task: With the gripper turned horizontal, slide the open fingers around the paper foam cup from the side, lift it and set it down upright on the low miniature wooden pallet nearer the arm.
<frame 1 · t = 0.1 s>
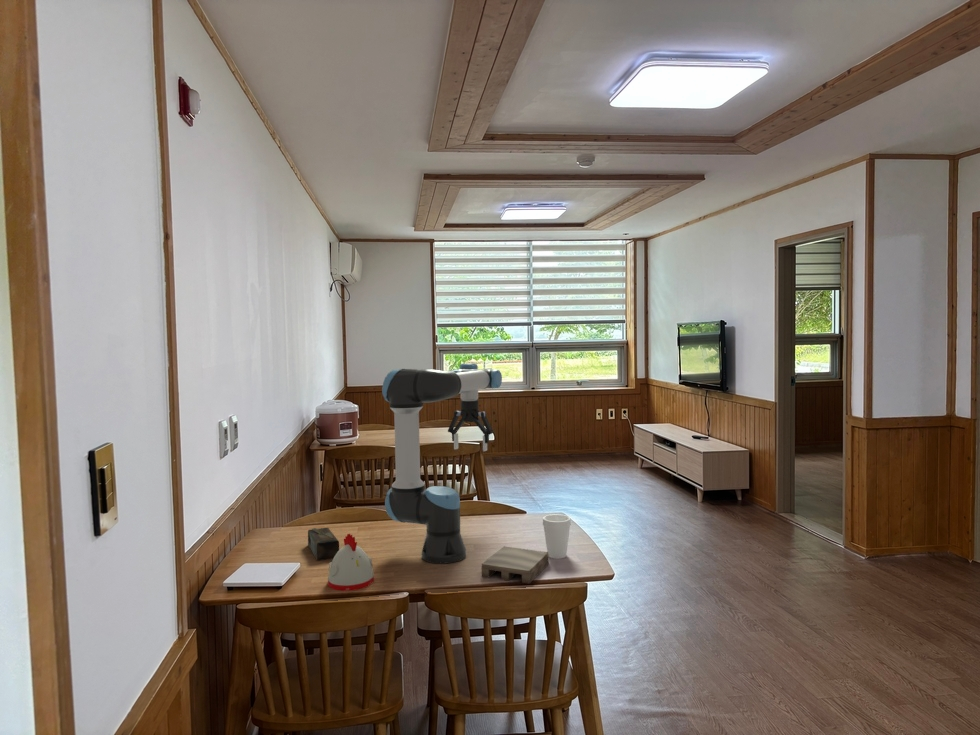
hand: (470, 449, 266), 28 cm above the table, tool pointing down, fingers open, 13 cm apart
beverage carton: (323, 552, 225), on the table
miniature wooden pallet: (515, 570, 203), on the table
foam cup: (557, 556, 216), on the table
kitchen timer: (351, 582, 196), on the table
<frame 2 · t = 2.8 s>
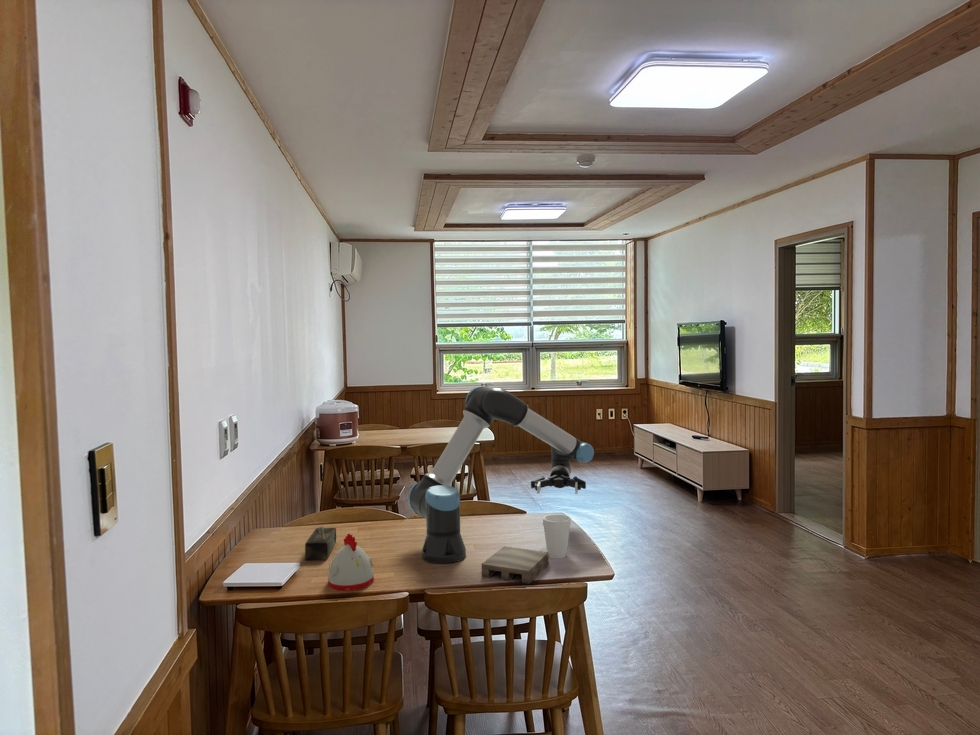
hand: (557, 490, 225), 20 cm above the table, tool horizontal, fingers open, 13 cm apart
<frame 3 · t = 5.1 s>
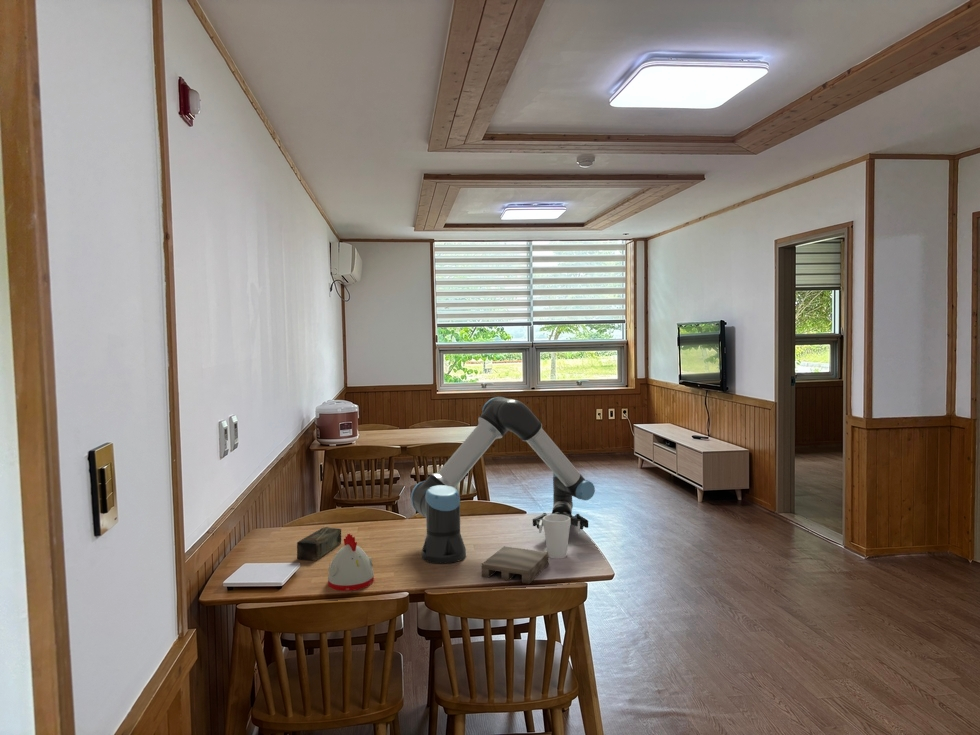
hand: (559, 529, 222), 7 cm above the table, tool horizontal, fingers open, 13 cm apart
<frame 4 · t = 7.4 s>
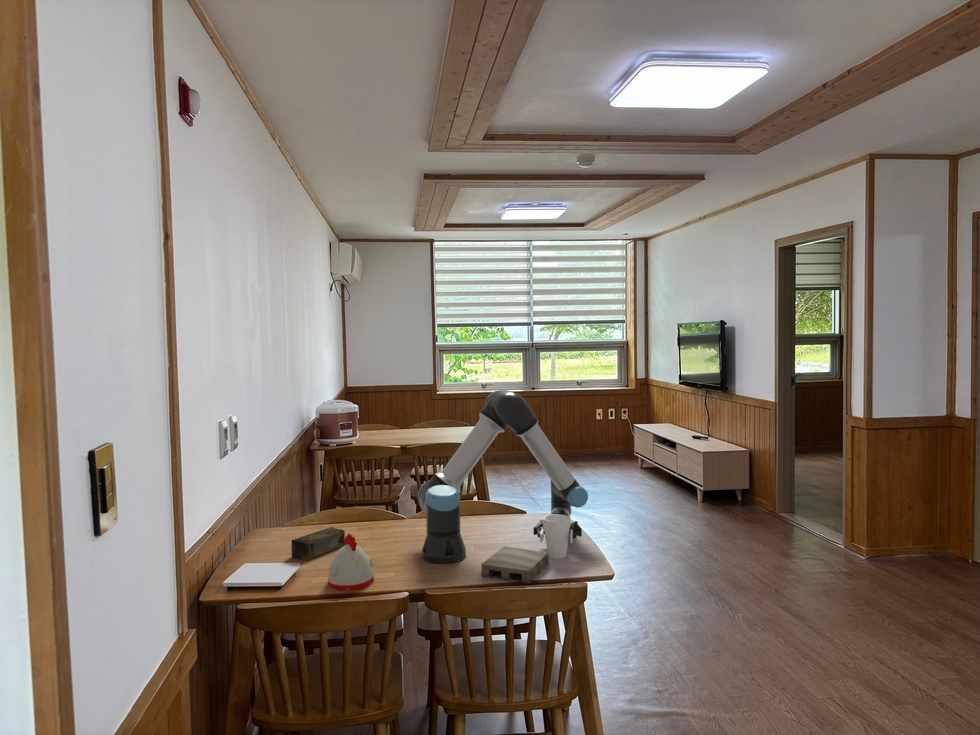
hand: (556, 538, 211), 7 cm above the table, tool horizontal, fingers closed on foam cup, 9 cm apart
foam cup: (557, 556, 216), on the table, touching gripper
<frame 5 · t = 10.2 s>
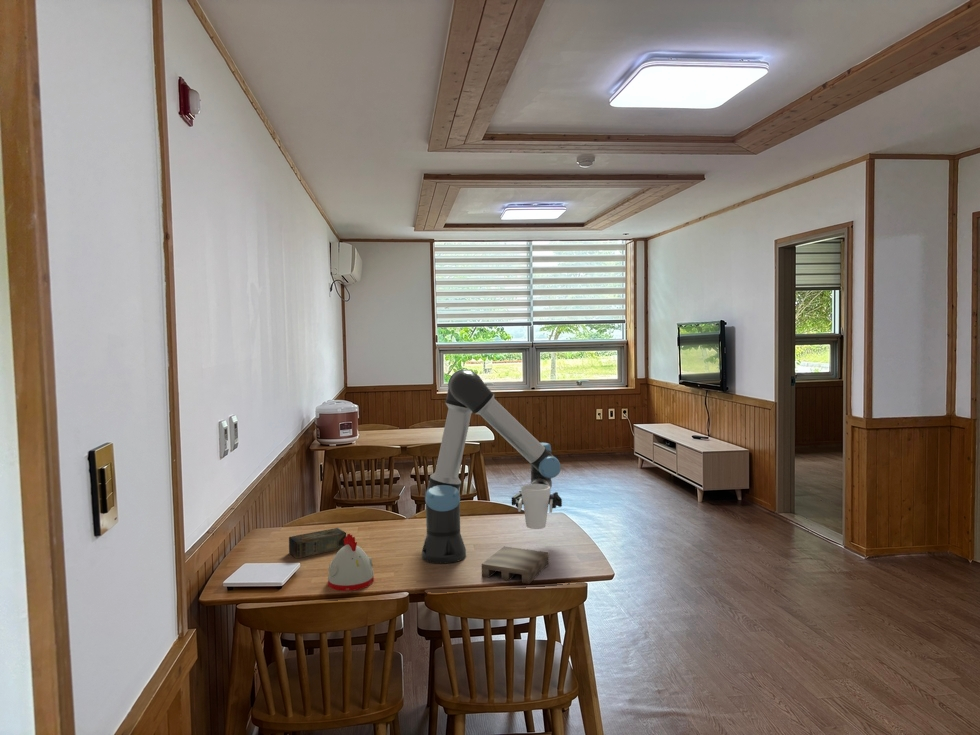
hand: (534, 508, 202), 20 cm above the table, tool horizontal, fingers closed on foam cup, 9 cm apart
foam cup: (535, 526, 207), point 13 cm above the table, touching gripper
when the fingers open (13 cm above the table, at t = 13.0 s): foam cup drops 1 cm, resting on miniature wooden pallet.
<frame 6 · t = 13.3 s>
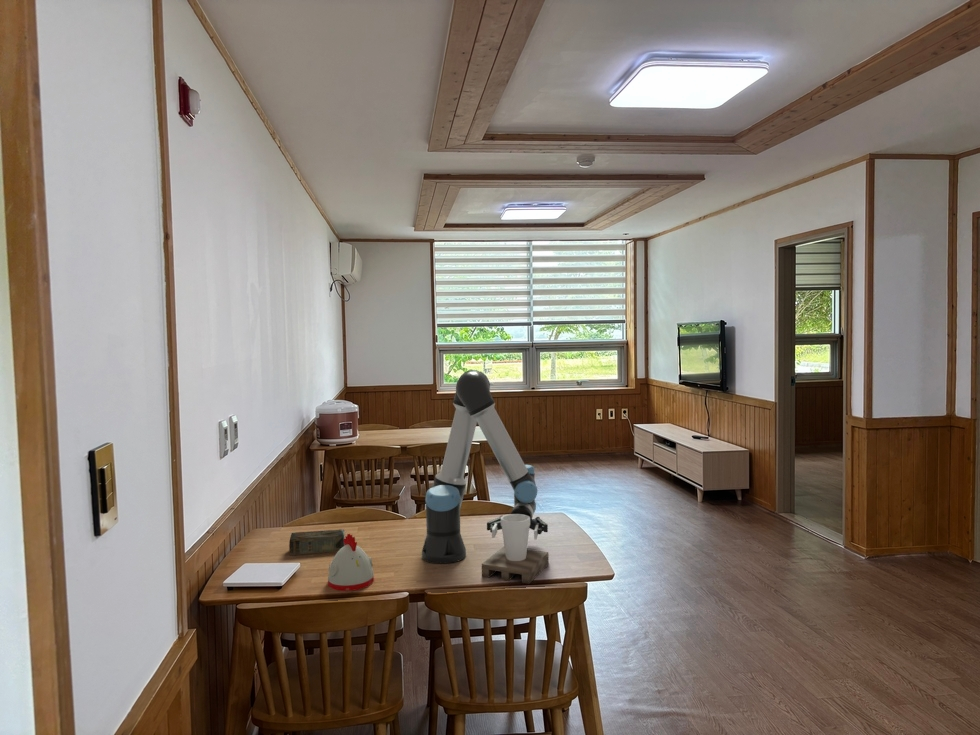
hand: (514, 534, 199), 13 cm above the table, tool horizontal, fingers open, 13 cm apart
foam cup: (516, 558, 203), point 4 cm above the table, touching miniature wooden pallet
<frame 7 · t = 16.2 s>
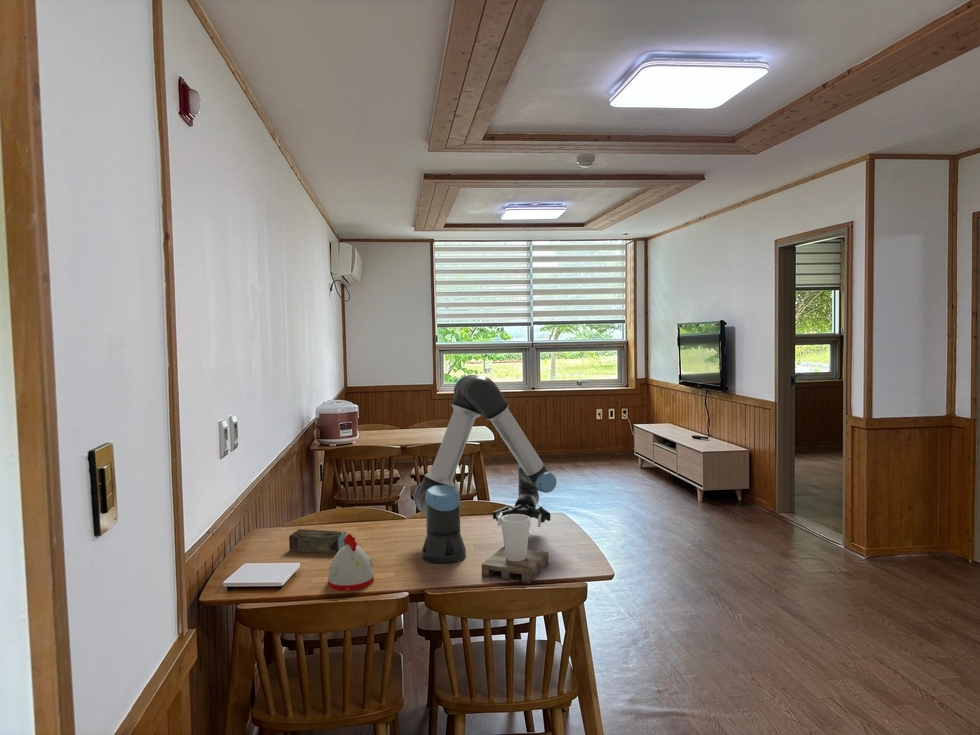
hand: (518, 522, 212), 13 cm above the table, tool horizontal, fingers open, 13 cm apart
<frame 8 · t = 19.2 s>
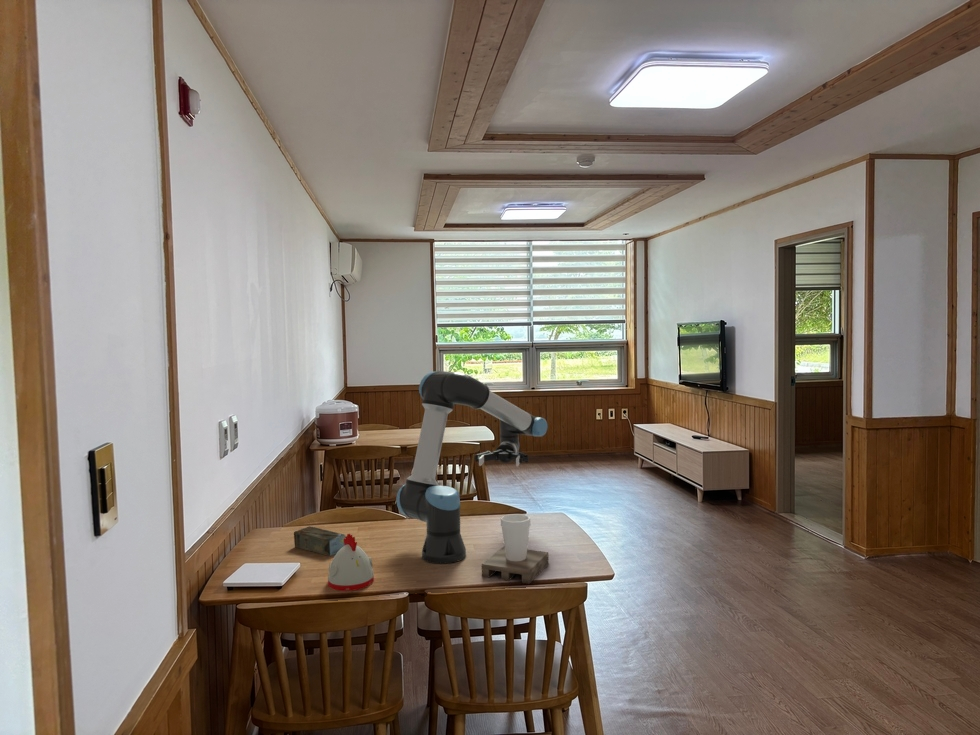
hand: (498, 462, 228), 30 cm above the table, tool horizontal, fingers open, 13 cm apart
at the end: foam cup inside the target area on the miniature wooden pallet (0.1 cm from its centre), point 3.8 cm above the miniature wooden pallet's base; foam cup tilted 0°; the gripper is holding nothing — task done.
